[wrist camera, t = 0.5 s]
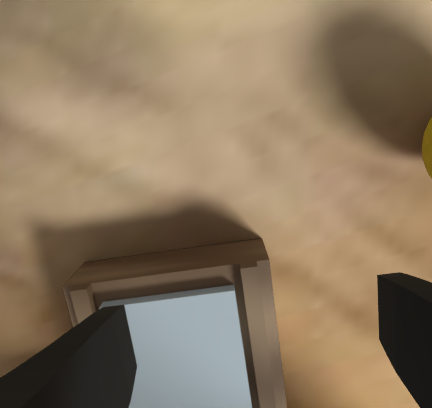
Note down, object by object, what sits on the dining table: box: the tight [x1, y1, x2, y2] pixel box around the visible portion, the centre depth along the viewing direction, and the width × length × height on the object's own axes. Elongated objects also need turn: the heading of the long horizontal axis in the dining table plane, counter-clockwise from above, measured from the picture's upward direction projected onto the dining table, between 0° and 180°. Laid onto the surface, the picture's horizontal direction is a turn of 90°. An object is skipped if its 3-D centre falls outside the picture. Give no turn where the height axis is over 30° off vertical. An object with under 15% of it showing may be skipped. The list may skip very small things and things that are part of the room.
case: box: [62, 238, 287, 408], centre depth 21 cm, size 14×16×4 cm
